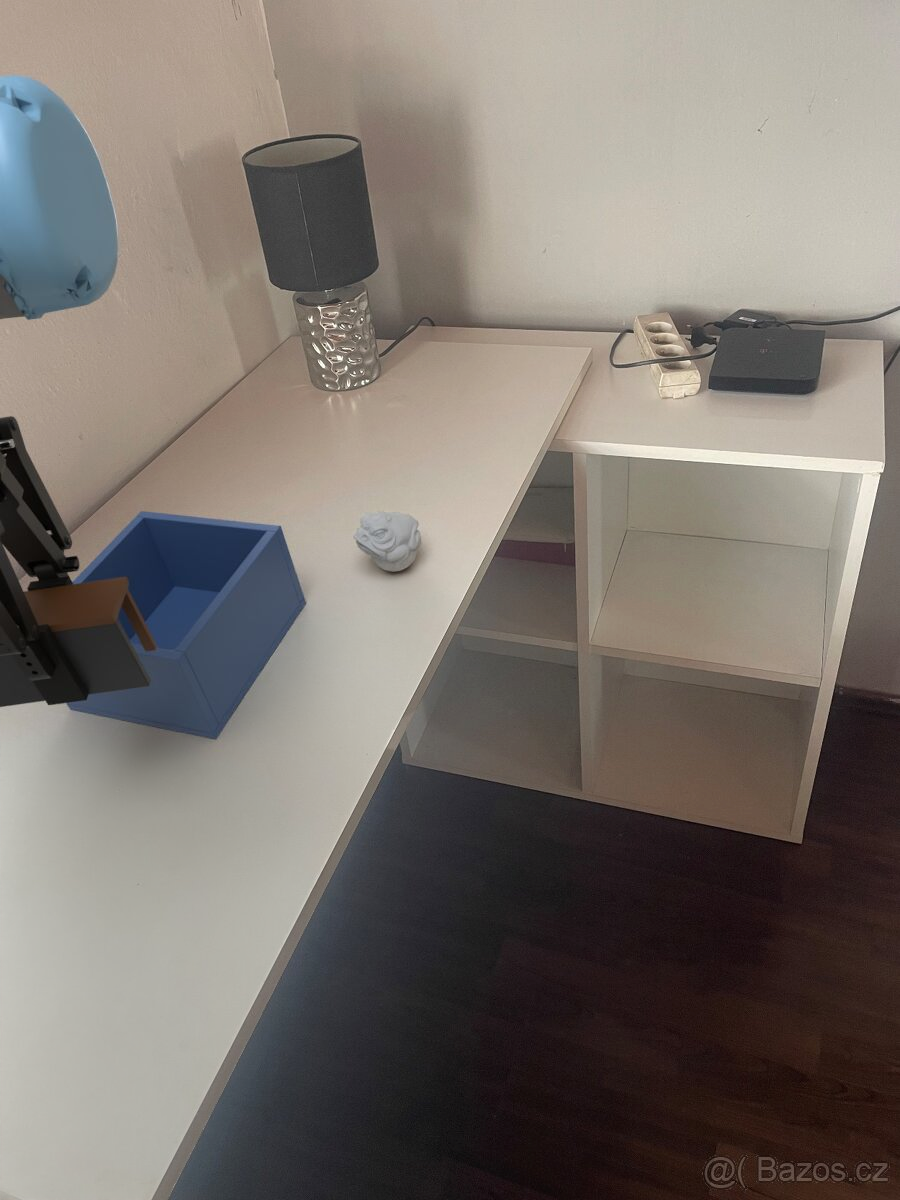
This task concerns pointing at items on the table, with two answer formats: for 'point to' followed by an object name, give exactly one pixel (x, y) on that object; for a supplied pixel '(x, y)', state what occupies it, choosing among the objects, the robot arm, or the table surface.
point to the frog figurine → (389, 539)
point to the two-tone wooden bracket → (85, 638)
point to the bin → (197, 615)
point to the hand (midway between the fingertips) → (78, 673)
